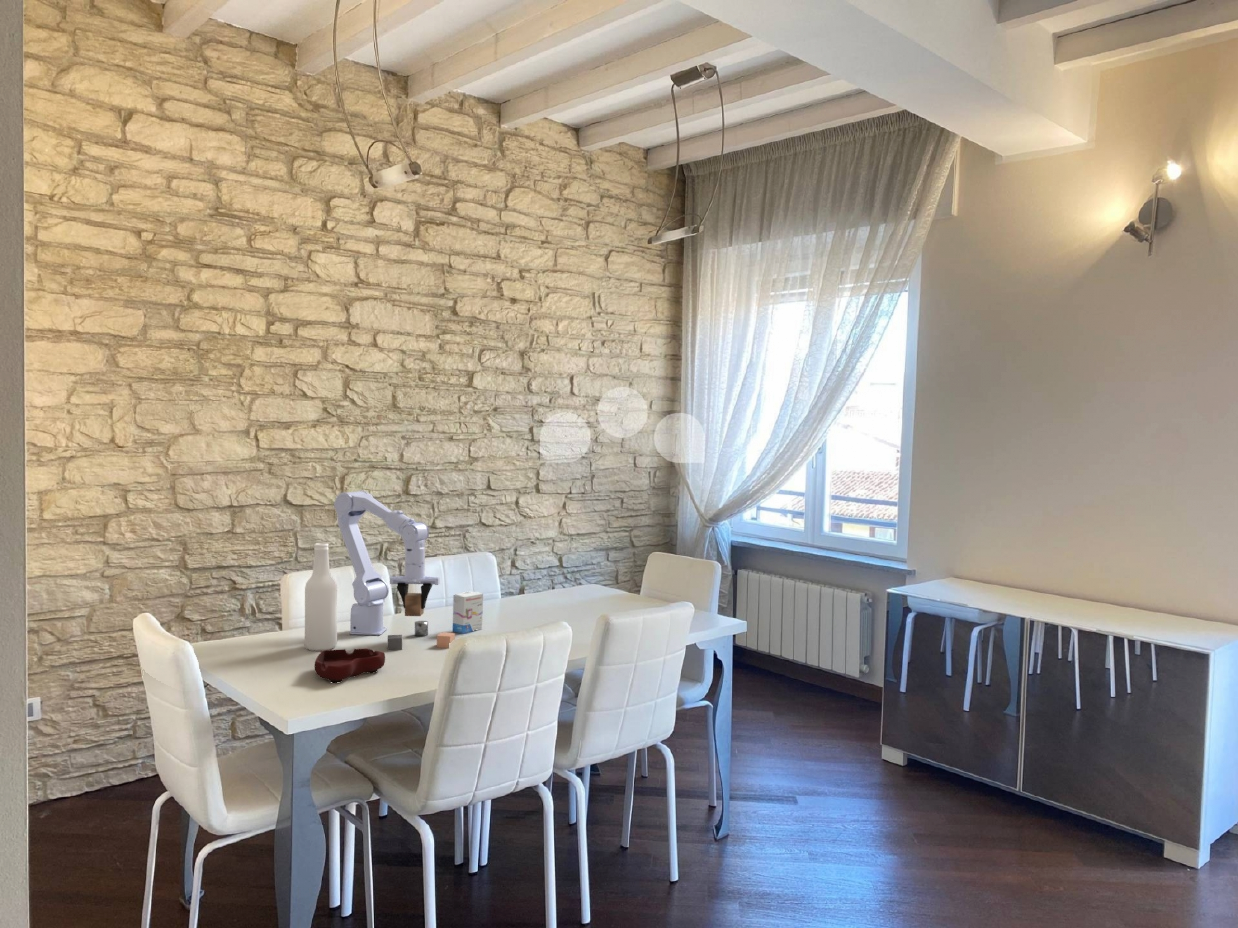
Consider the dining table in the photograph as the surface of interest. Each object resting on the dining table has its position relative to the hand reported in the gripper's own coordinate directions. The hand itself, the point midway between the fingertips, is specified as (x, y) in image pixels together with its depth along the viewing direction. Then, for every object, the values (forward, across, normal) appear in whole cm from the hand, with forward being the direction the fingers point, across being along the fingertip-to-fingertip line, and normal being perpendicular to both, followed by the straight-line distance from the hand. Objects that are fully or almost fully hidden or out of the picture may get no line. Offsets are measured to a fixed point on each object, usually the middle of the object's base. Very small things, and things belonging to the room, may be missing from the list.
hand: (414, 607), depth 266 cm
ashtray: (+10, -10, -36) cm, 39 cm away
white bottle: (+10, -24, -12) cm, 28 cm away
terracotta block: (+10, +11, -7) cm, 16 cm away
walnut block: (+2, 0, 0) cm, 2 cm away
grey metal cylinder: (+10, +1, +5) cm, 11 cm away
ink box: (+10, +14, +12) cm, 21 cm away
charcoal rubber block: (+10, -3, -11) cm, 15 cm away
